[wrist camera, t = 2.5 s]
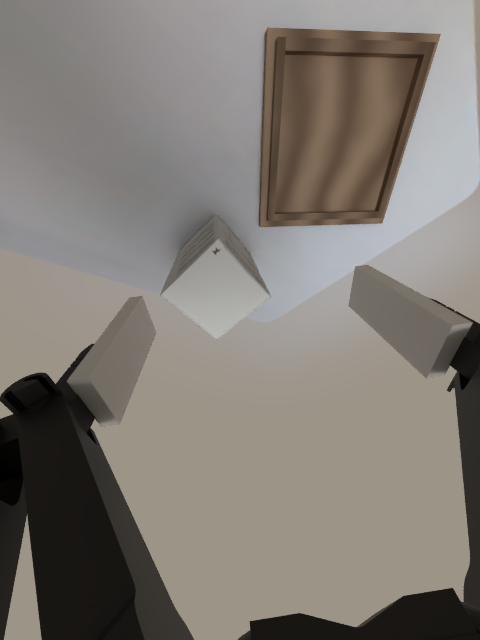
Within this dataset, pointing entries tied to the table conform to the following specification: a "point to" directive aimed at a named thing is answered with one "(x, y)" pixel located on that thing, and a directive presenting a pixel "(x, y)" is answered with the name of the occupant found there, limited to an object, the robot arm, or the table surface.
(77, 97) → the table surface
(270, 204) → the walnut tray
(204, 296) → the supplement box
